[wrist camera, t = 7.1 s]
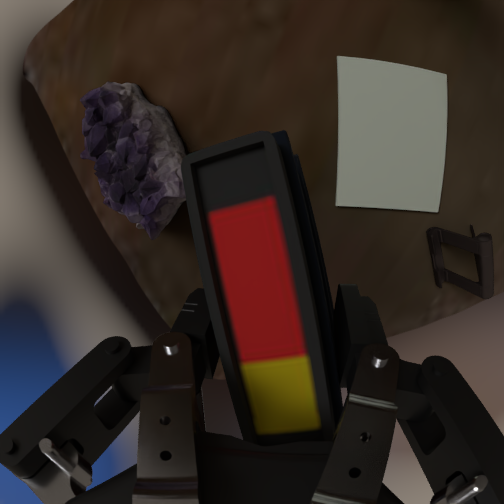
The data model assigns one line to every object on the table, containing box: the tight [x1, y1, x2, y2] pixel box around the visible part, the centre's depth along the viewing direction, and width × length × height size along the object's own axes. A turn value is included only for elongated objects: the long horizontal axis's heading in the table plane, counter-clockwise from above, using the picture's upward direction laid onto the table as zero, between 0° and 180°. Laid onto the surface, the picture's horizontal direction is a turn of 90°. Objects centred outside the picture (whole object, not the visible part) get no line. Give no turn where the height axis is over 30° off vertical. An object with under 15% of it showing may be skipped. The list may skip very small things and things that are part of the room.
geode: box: [80, 81, 187, 240], centre depth 31 cm, size 20×12×10 cm, turn 29°
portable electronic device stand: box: [426, 225, 494, 299], centre depth 31 cm, size 9×8×8 cm
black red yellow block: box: [181, 130, 343, 446], centre depth 16 cm, size 4×13×15 cm, turn 17°
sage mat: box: [336, 56, 447, 212], centre depth 30 cm, size 18×14×1 cm
